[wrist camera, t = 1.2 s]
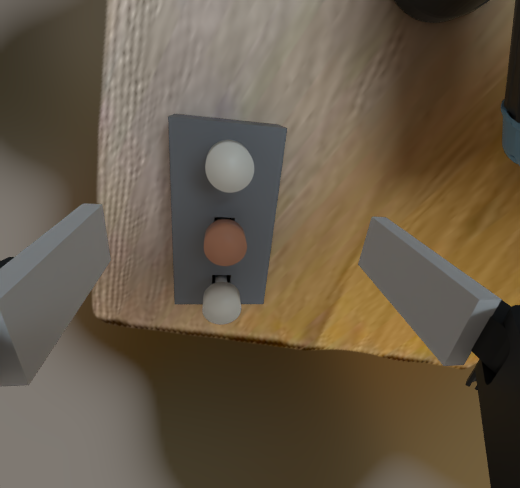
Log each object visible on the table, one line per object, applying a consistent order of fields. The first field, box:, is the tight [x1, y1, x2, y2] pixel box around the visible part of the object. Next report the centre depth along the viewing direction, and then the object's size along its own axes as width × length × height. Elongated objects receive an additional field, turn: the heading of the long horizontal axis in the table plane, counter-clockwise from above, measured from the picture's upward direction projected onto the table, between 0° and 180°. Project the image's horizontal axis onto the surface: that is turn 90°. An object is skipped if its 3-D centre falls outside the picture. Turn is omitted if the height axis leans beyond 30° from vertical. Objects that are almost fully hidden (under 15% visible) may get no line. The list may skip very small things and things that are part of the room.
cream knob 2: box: [202, 275, 241, 324], centre depth 36 cm, size 4×4×7 cm
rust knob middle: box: [204, 217, 247, 266], centre depth 33 cm, size 4×4×7 cm
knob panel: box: [168, 114, 287, 304], centre depth 36 cm, size 12×23×5 cm, turn 174°
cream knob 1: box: [205, 140, 254, 193], centre depth 29 cm, size 4×4×7 cm
